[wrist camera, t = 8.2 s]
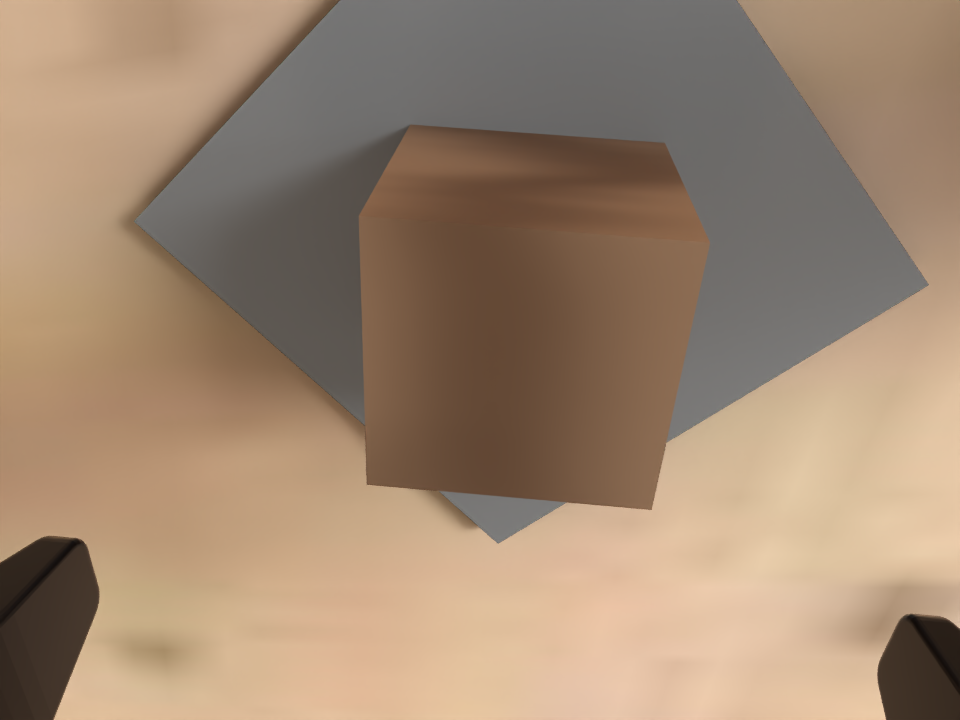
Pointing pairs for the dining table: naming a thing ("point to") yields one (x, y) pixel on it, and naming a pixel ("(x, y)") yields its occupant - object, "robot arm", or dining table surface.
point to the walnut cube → (526, 314)
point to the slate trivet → (541, 110)
